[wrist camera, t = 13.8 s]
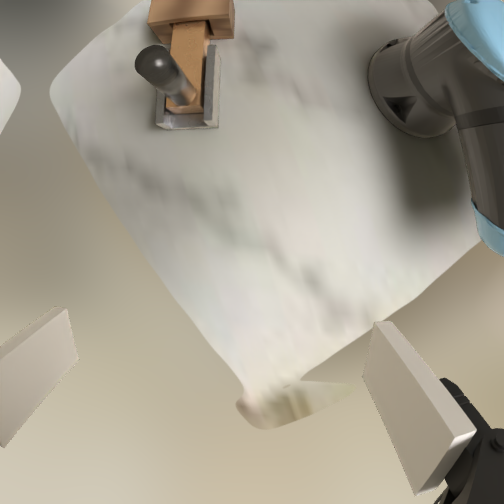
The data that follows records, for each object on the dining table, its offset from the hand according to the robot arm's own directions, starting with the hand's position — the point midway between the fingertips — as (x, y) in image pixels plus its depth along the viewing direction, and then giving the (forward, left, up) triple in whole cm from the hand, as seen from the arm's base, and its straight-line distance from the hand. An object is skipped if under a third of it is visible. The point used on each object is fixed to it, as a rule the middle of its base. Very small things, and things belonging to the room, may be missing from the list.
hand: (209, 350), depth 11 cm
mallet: (+7, -23, -27) cm, 36 cm away
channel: (+7, -18, -29) cm, 35 cm away
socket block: (+7, -29, -29) cm, 42 cm away
